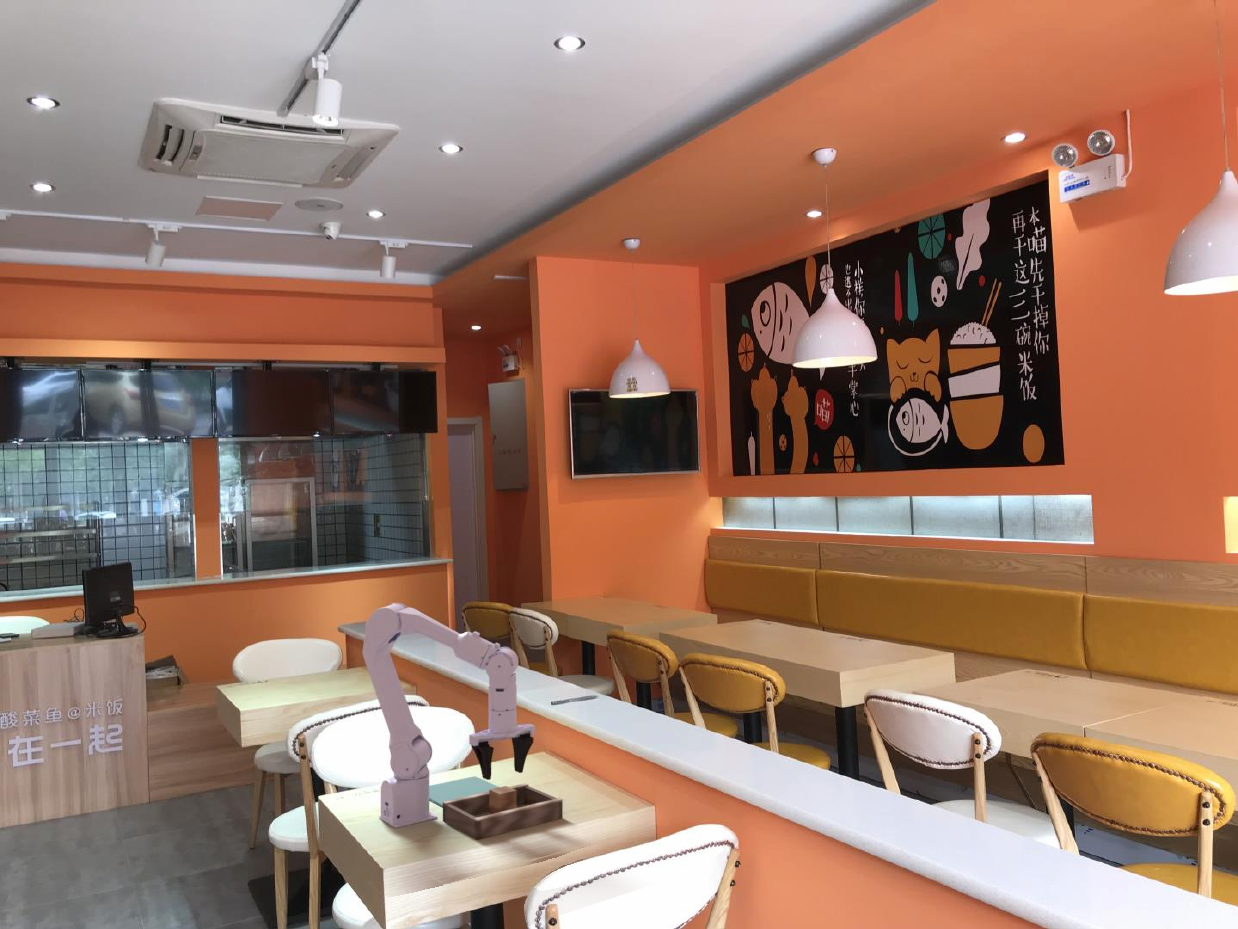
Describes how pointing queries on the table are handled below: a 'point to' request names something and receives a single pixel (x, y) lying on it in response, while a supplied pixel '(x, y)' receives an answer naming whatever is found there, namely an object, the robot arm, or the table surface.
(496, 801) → the walnut block
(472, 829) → the frame
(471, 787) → the mat
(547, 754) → the table surface
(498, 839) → the table surface
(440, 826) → the table surface
